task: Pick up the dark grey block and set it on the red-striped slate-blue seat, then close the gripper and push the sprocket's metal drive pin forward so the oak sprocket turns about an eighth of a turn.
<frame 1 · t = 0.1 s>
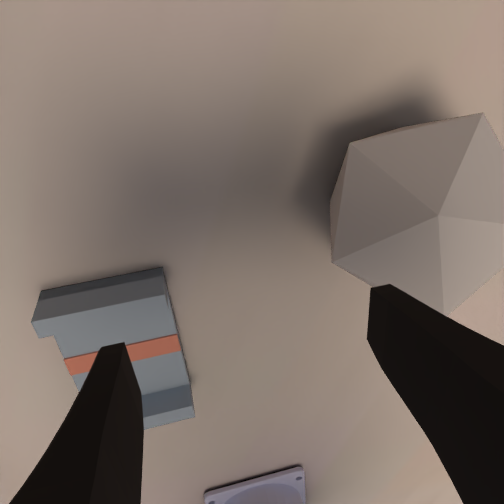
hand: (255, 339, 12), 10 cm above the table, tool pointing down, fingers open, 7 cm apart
seat: (124, 343, 24), on the table
grey faceted polyhedron: (379, 181, 23), on the table
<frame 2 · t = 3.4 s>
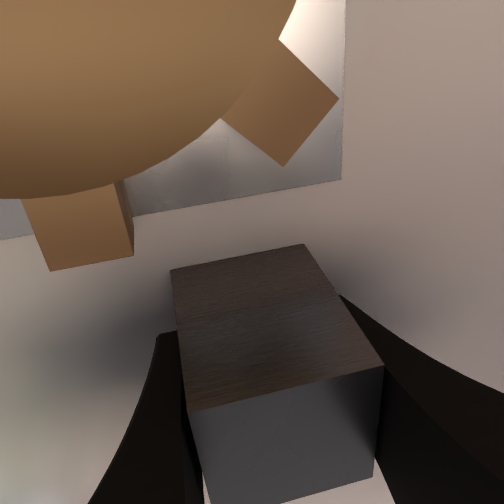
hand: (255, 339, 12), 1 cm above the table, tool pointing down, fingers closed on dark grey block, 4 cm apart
dark grey block: (245, 309, 14), on the table, touching gripper
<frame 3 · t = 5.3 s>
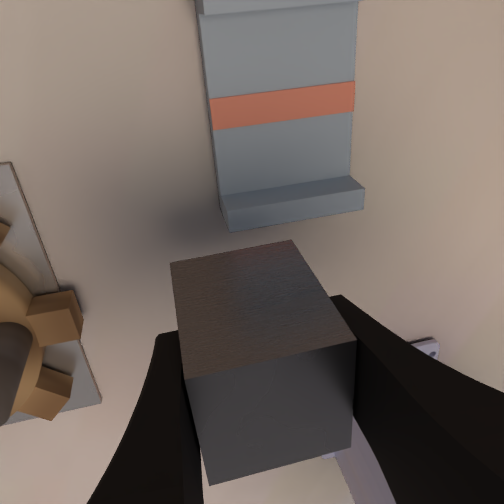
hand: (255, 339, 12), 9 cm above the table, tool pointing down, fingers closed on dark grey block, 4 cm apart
dark grey block: (238, 300, 15), point 6 cm above the table, touching gripper
seat: (278, 101, 18), on the table
when the fingers open (3 cm above the table, at t = 7.3 s): dark grey block stays where it is, resting on seat.
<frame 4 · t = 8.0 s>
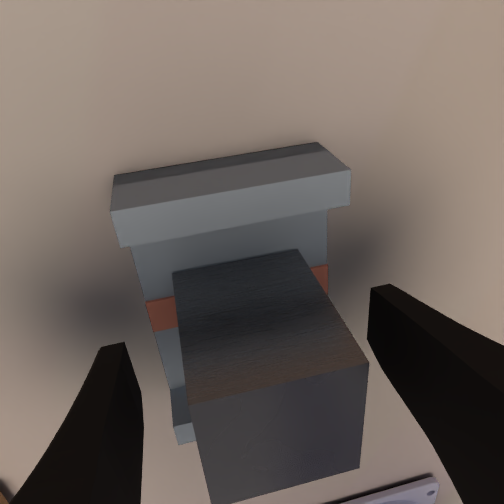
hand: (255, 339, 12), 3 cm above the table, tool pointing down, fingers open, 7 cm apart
dark grey block: (242, 310, 14), point 1 cm above the table, touching seat
seat: (236, 283, 15), on the table
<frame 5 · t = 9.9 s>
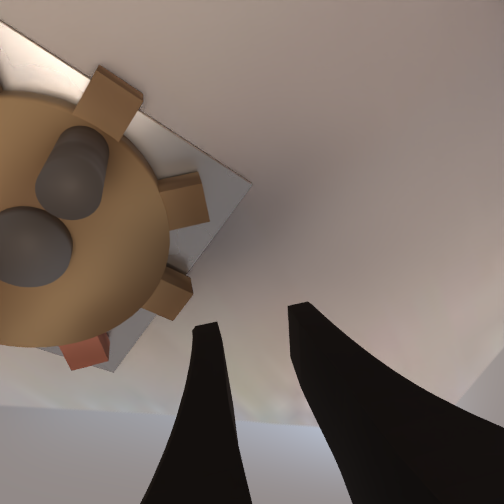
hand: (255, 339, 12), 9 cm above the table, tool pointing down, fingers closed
thin square base plate: (39, 220, 19), on the table
sprocket: (23, 258, 16), point 3 cm above the table, hinge at 0.0°
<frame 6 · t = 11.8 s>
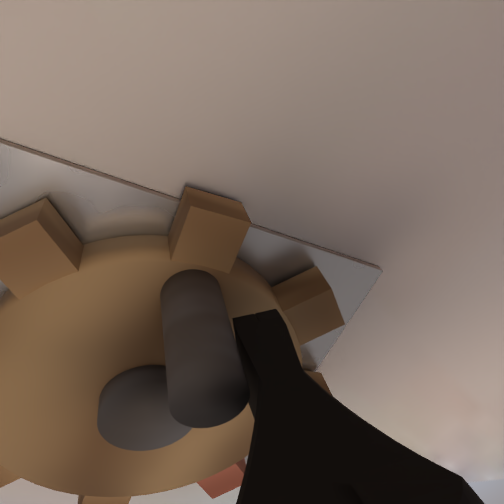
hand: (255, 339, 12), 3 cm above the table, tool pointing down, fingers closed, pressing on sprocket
thin square base plate: (147, 357, 16), on the table
sprocket: (149, 429, 14), point 3 cm above the table, hinge at 3.2°, touching gripper
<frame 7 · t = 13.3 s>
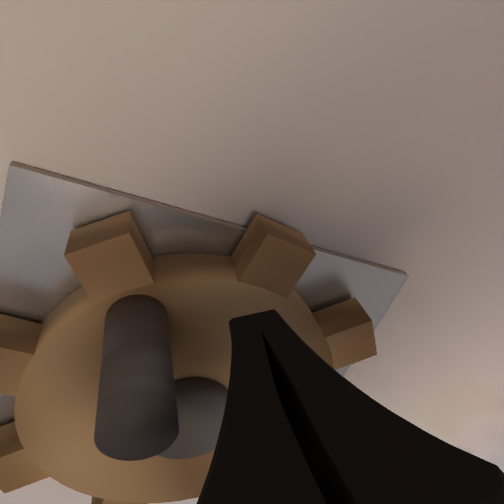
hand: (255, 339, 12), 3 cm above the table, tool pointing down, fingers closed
thin square base plate: (182, 368, 17), on the table
sprocket: (191, 439, 14), point 3 cm above the table, hinge at 38.2°
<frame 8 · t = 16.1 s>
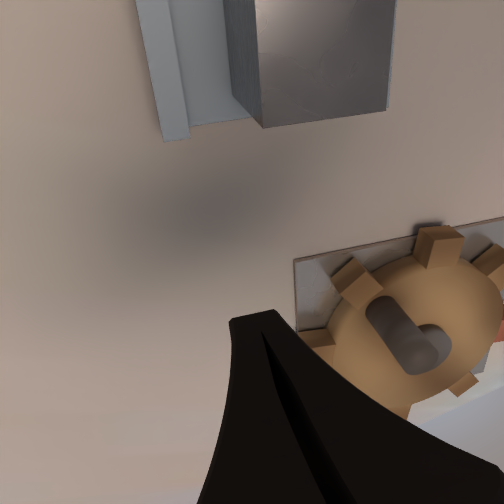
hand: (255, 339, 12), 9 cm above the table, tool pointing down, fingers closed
thin square base plate: (402, 323, 27), on the table
dark grey block: (278, 34, 16), point 1 cm above the table, touching seat
seat: (259, 32, 17), on the table
sprocket: (430, 358, 25), point 3 cm above the table, hinge at 38.2°
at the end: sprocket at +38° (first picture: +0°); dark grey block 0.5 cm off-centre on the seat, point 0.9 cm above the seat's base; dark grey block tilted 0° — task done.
